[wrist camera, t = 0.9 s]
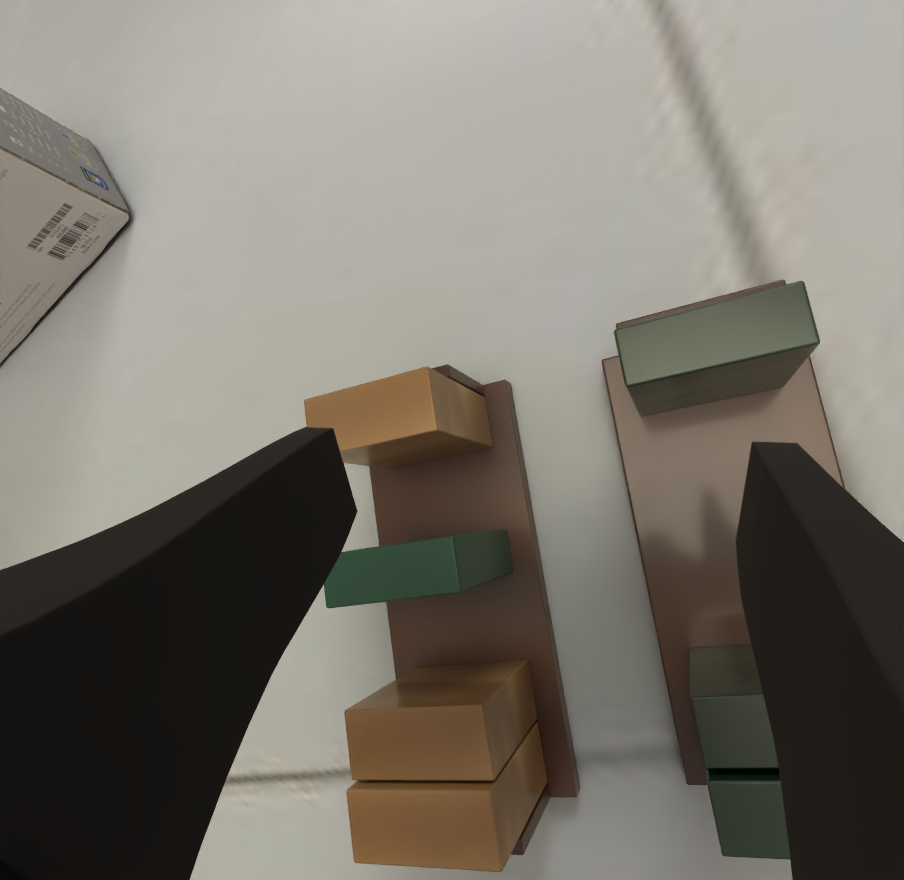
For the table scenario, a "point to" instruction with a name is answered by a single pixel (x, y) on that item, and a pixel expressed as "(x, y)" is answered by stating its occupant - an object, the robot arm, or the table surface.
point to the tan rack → (452, 634)
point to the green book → (418, 568)
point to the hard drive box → (47, 214)
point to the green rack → (714, 520)
